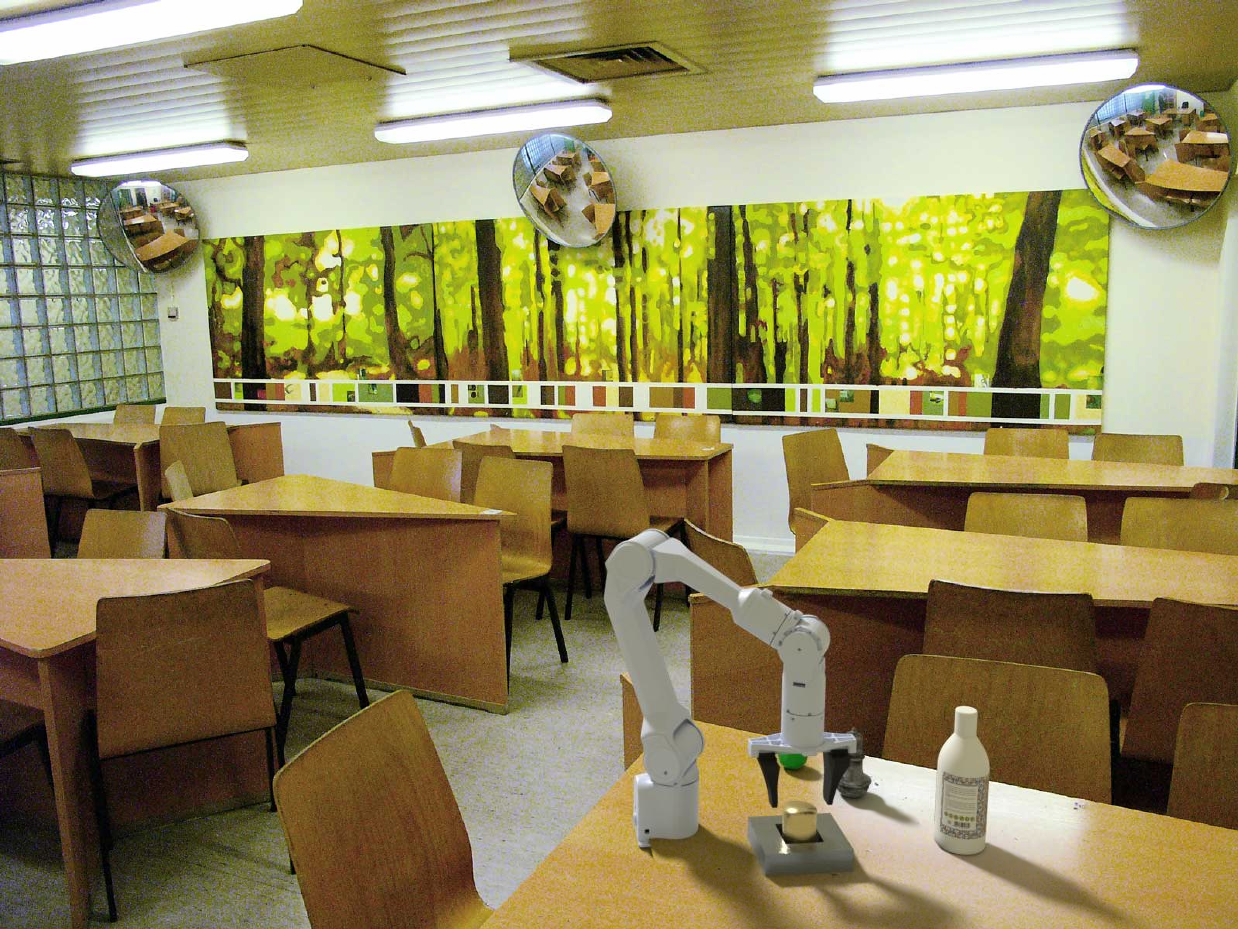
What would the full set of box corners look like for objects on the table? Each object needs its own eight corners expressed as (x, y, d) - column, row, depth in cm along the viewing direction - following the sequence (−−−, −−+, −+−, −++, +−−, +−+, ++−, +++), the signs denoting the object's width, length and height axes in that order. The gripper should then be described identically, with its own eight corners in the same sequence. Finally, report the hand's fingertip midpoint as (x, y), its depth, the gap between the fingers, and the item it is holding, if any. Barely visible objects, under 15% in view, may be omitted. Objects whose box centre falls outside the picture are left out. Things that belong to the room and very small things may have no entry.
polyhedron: (800, 777, 161) (800, 749, 160) (772, 769, 163) (773, 742, 163) (811, 765, 165) (812, 738, 164) (784, 758, 168) (785, 731, 167)
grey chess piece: (861, 813, 149) (864, 737, 147) (825, 801, 152) (828, 728, 151) (876, 798, 154) (880, 725, 152) (841, 787, 157) (844, 715, 155)
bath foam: (993, 856, 137) (1001, 719, 134) (943, 857, 137) (951, 720, 134) (973, 830, 144) (981, 700, 141) (926, 831, 144) (933, 700, 141)
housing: (764, 883, 130) (765, 854, 130) (747, 843, 140) (747, 817, 140) (852, 878, 132) (853, 850, 131) (829, 839, 141) (830, 813, 141)
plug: (786, 863, 133) (788, 818, 132) (777, 845, 138) (779, 801, 137) (819, 861, 134) (821, 816, 133) (810, 843, 138) (811, 800, 137)
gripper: (757, 722, 128) (755, 820, 130) (865, 717, 130) (862, 814, 131) (744, 701, 135) (743, 795, 137) (847, 697, 136) (844, 790, 138)
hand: (800, 803), depth 135 cm, fingers open, 7 cm apart
